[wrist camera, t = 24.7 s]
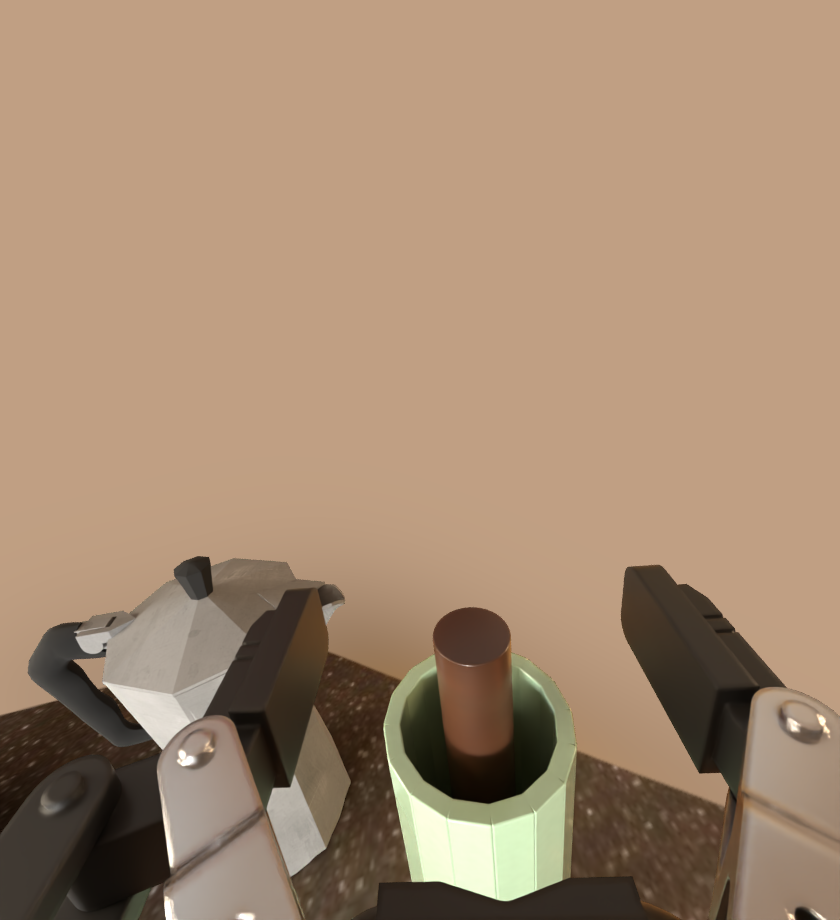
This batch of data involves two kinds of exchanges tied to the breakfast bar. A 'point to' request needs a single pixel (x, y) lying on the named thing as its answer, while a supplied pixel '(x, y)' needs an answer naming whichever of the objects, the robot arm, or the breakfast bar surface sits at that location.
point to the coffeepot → (195, 679)
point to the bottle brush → (476, 703)
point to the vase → (478, 824)
